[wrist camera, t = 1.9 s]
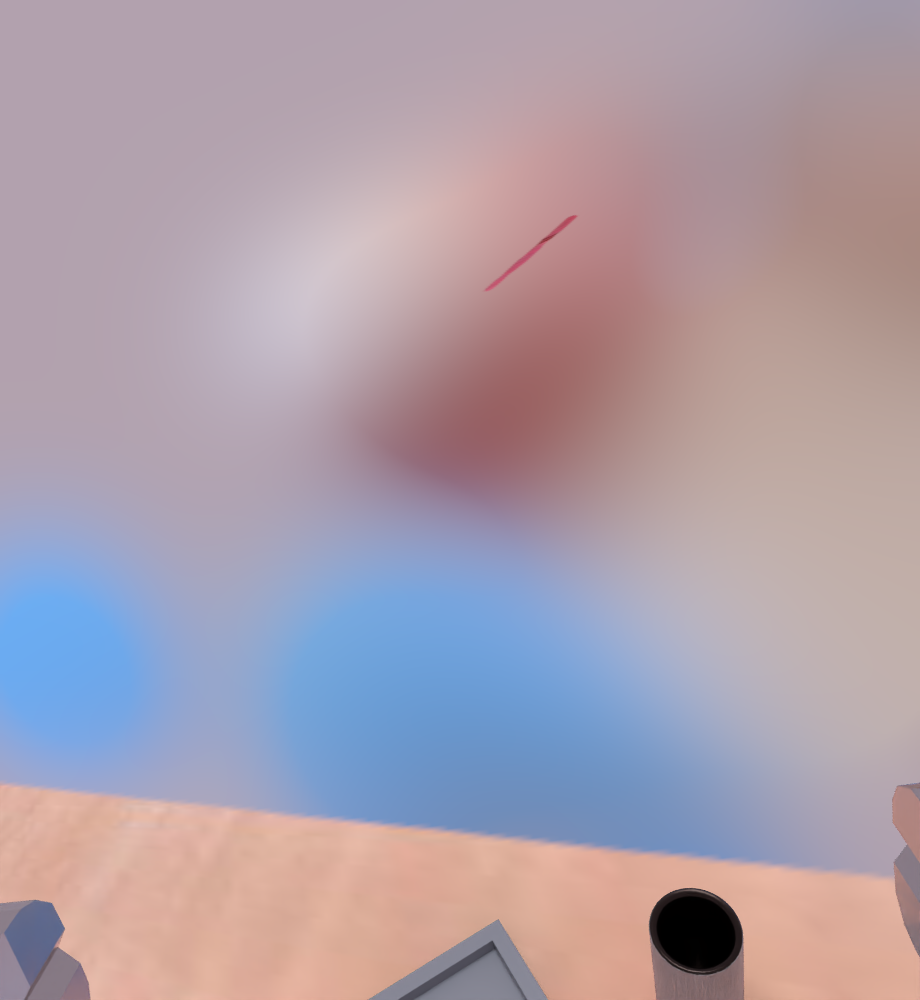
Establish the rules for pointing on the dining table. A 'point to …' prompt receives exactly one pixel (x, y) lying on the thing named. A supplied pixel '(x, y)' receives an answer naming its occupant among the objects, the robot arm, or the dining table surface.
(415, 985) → the tray
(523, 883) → the dining table surface
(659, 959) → the grey cylindrical container
